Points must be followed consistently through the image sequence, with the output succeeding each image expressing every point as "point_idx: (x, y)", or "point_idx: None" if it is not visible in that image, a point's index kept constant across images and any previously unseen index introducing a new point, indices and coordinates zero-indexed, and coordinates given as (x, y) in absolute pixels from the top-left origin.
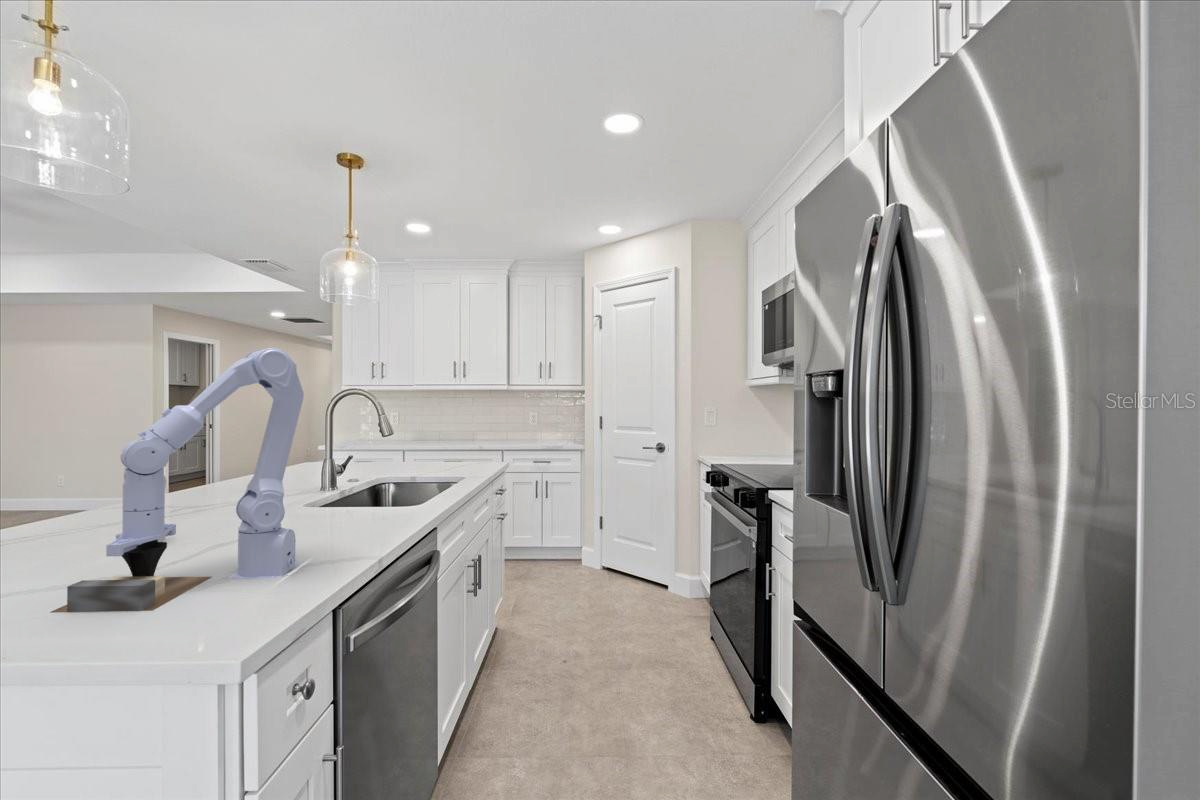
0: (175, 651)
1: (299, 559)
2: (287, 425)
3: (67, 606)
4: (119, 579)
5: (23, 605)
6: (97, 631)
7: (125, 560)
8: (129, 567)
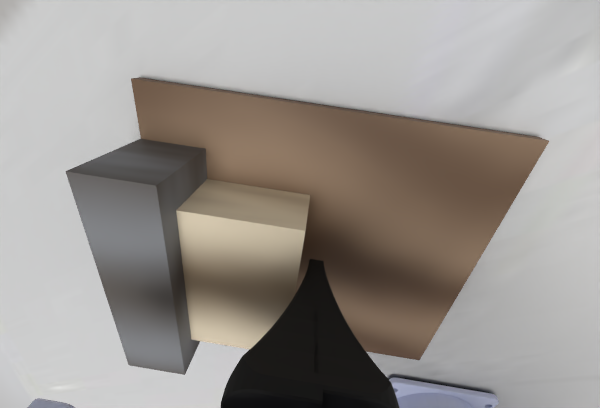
0: (41, 370)
1: None
2: None
3: (128, 145)
4: (261, 259)
5: None
6: (72, 257)
7: (265, 334)
8: (287, 308)
